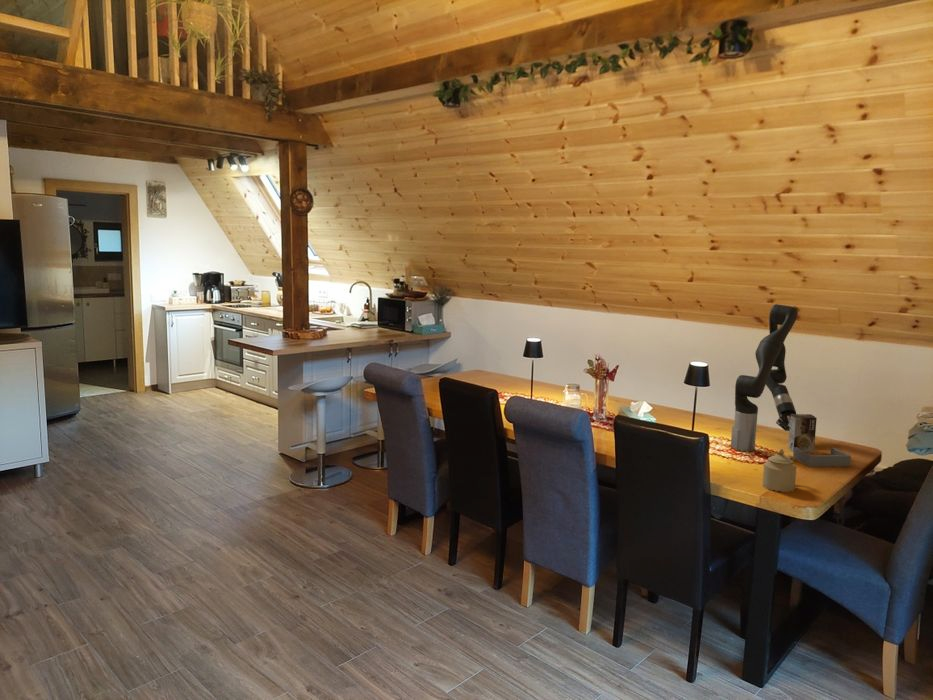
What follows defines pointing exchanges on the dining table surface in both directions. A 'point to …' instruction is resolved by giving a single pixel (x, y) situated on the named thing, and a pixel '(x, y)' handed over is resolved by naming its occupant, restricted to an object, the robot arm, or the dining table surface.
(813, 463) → the box
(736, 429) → the robot arm
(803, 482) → the dining table surface
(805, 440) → the coffee box
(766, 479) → the sugar bowl
